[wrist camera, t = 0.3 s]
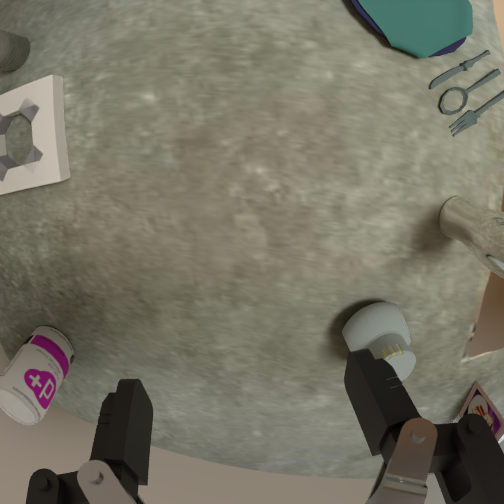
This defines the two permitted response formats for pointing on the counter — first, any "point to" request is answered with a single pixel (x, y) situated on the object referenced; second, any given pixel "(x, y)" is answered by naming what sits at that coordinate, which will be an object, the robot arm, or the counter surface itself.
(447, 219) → the beer glass
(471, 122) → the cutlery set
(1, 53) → the grey cylindrical piece
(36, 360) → the supplement can
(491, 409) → the greeting card
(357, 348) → the air freshener
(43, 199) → the counter surface
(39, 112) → the mount plate
